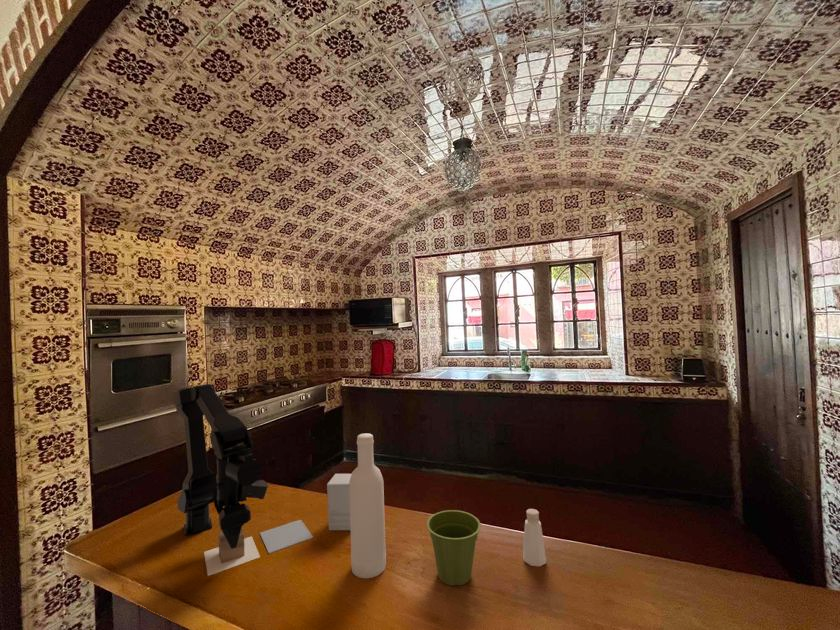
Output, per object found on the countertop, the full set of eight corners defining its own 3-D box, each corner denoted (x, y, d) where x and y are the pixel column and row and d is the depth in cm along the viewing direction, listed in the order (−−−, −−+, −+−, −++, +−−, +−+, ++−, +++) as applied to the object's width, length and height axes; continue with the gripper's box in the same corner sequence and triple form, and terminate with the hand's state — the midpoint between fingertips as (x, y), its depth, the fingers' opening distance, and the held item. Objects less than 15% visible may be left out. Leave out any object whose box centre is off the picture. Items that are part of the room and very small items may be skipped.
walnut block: (219, 553, 90) (218, 532, 90) (241, 545, 93) (240, 525, 93) (221, 563, 86) (221, 542, 86) (244, 555, 89) (244, 534, 89)
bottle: (356, 583, 78) (352, 442, 79) (347, 562, 85) (343, 433, 86) (391, 572, 81) (387, 436, 82) (379, 552, 88) (376, 428, 89)
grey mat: (259, 533, 98) (259, 532, 98) (300, 520, 105) (300, 519, 105) (268, 554, 89) (268, 552, 89) (313, 538, 96) (313, 536, 96)
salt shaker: (526, 549, 88) (525, 503, 88) (549, 557, 85) (547, 509, 85) (518, 561, 83) (516, 513, 84) (542, 570, 80) (540, 519, 81)
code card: (204, 552, 91) (204, 551, 91) (251, 536, 97) (251, 536, 97) (207, 576, 82) (207, 575, 82) (260, 557, 88) (260, 556, 88)
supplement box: (361, 517, 106) (359, 473, 106) (354, 531, 98) (352, 484, 98) (336, 516, 106) (335, 472, 107) (327, 530, 99) (326, 483, 99)
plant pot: (476, 601, 72) (474, 543, 72) (420, 587, 76) (418, 533, 76) (487, 563, 83) (485, 513, 83) (437, 554, 87) (436, 506, 88)
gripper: (273, 478, 87) (274, 544, 87) (257, 456, 102) (258, 513, 102) (220, 492, 81) (221, 563, 80) (212, 466, 96) (213, 526, 96)
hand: (231, 538), depth 90 cm, fingers open, 9 cm apart
